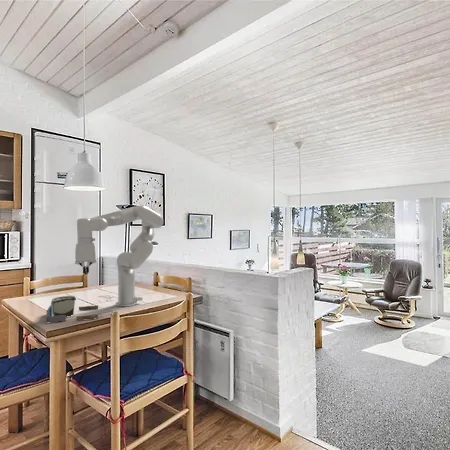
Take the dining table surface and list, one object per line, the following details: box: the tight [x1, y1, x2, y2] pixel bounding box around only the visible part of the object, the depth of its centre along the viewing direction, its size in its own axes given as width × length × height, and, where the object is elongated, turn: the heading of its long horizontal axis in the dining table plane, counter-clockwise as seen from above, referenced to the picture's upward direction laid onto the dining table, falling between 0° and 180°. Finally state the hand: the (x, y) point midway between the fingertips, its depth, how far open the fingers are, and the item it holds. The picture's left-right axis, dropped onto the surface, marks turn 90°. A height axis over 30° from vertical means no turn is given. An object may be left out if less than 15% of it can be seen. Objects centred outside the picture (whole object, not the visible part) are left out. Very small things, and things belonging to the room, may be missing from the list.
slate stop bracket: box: [46, 303, 67, 323], centre depth 169 cm, size 8×20×6 cm, turn 21°
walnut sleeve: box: [75, 304, 99, 321], centre depth 174 cm, size 10×22×2 cm, turn 21°
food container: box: [50, 295, 77, 318], centre depth 170 cm, size 12×6×10 cm, turn 141°
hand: (86, 274), depth 178 cm, fingers closed
